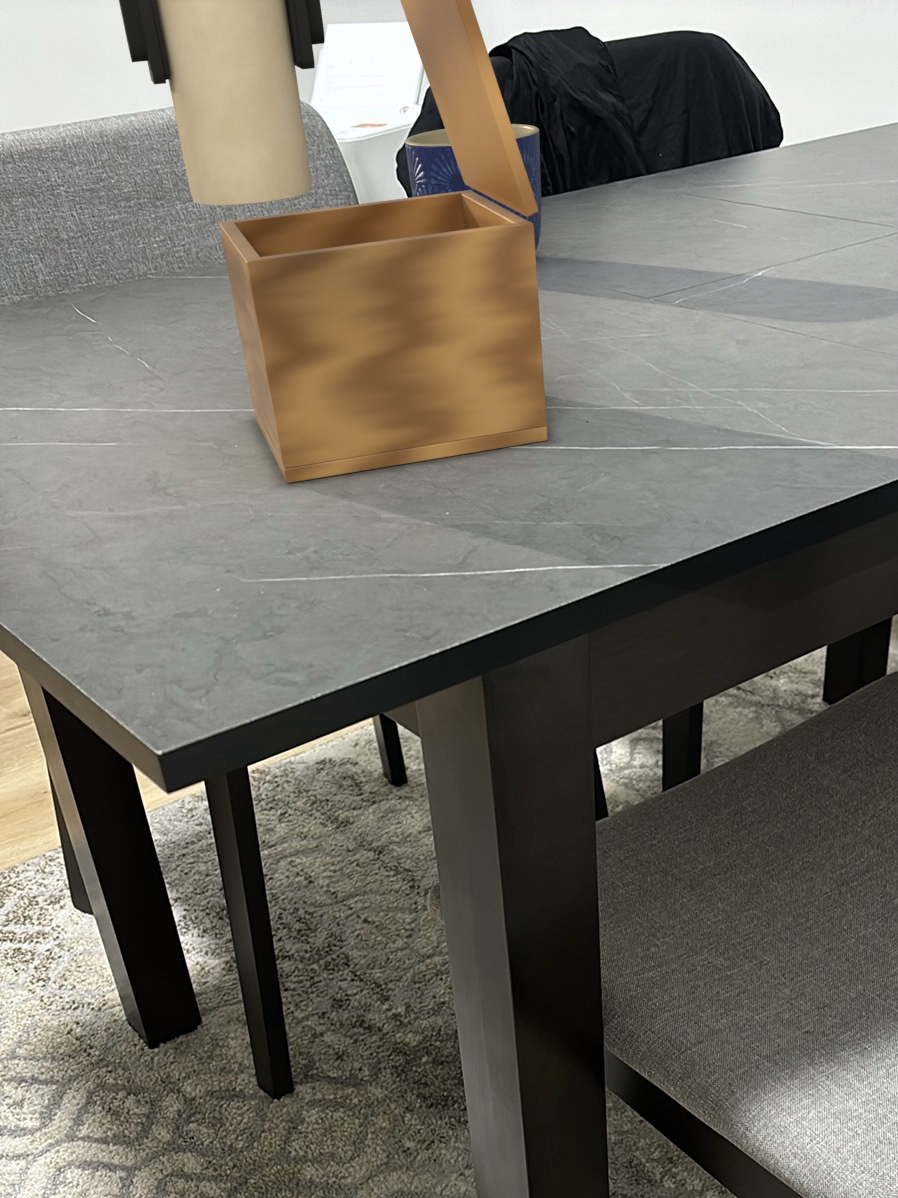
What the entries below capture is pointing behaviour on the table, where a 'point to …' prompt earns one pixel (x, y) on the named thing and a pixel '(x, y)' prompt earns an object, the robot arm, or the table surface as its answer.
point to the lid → (470, 100)
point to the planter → (441, 173)
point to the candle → (235, 99)
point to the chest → (389, 331)
